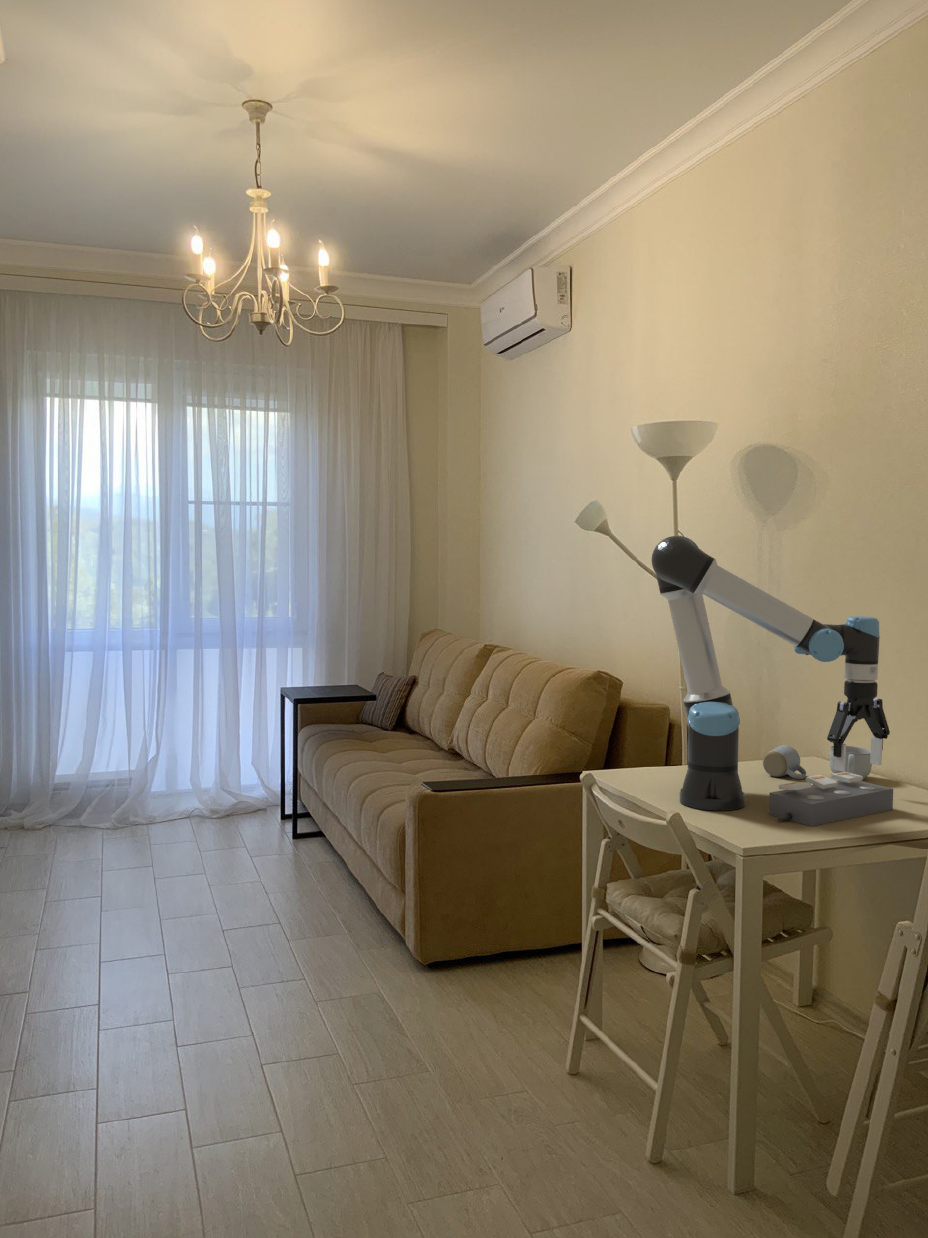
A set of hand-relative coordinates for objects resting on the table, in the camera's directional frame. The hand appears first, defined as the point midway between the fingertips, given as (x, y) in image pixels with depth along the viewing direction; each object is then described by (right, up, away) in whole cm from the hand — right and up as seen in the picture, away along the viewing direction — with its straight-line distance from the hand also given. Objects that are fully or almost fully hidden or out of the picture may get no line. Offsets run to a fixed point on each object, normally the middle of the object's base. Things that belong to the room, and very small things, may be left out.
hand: (857, 767), depth 249 cm
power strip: (-12, -9, -13) cm, 20 cm away
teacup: (+6, -6, +21) cm, 23 cm away
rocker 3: (-5, -2, -5) cm, 7 cm away
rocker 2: (-12, -2, -10) cm, 16 cm away
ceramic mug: (-10, -6, +25) cm, 28 cm away
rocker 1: (-20, -2, -15) cm, 25 cm away
